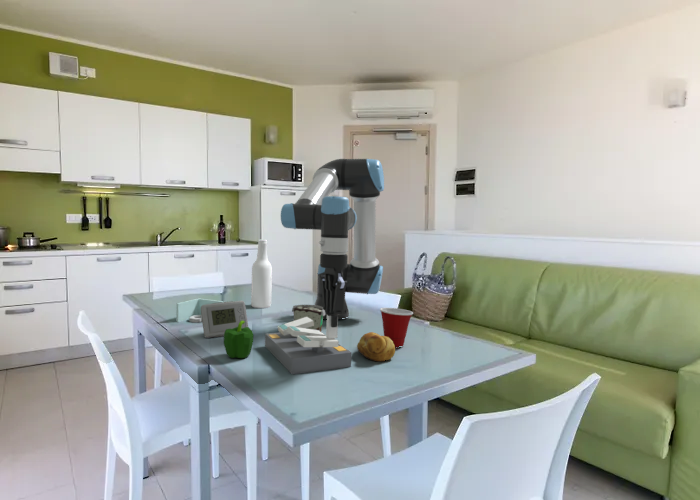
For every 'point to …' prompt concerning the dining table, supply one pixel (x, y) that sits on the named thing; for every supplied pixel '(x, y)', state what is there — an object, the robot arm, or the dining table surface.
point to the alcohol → (261, 278)
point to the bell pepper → (238, 341)
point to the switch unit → (305, 354)
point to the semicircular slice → (310, 314)
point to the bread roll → (376, 347)
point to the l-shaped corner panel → (192, 309)
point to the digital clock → (222, 317)
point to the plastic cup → (395, 324)
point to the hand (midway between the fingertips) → (331, 337)
